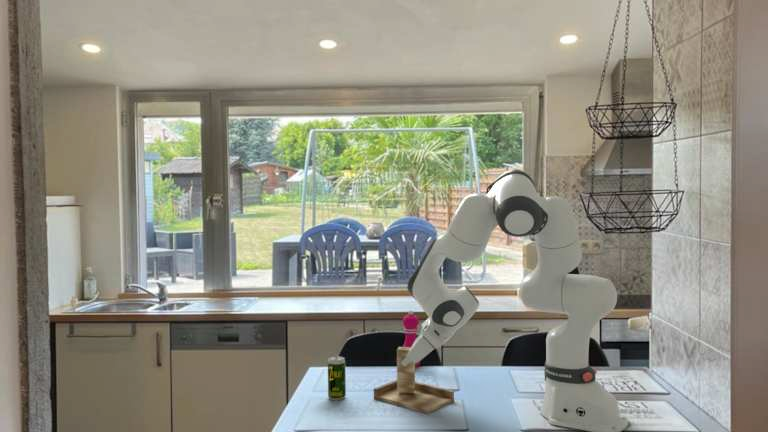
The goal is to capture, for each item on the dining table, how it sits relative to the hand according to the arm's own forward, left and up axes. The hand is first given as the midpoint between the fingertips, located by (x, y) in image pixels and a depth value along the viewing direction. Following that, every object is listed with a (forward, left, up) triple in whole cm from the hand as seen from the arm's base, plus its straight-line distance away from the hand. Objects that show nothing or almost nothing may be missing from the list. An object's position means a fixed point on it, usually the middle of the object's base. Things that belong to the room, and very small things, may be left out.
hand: (404, 362), depth 171 cm
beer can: (+16, +14, -11) cm, 23 cm away
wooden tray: (-4, +1, -11) cm, 12 cm away
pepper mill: (+20, -28, -11) cm, 36 cm away
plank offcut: (0, 0, -9) cm, 9 cm away
